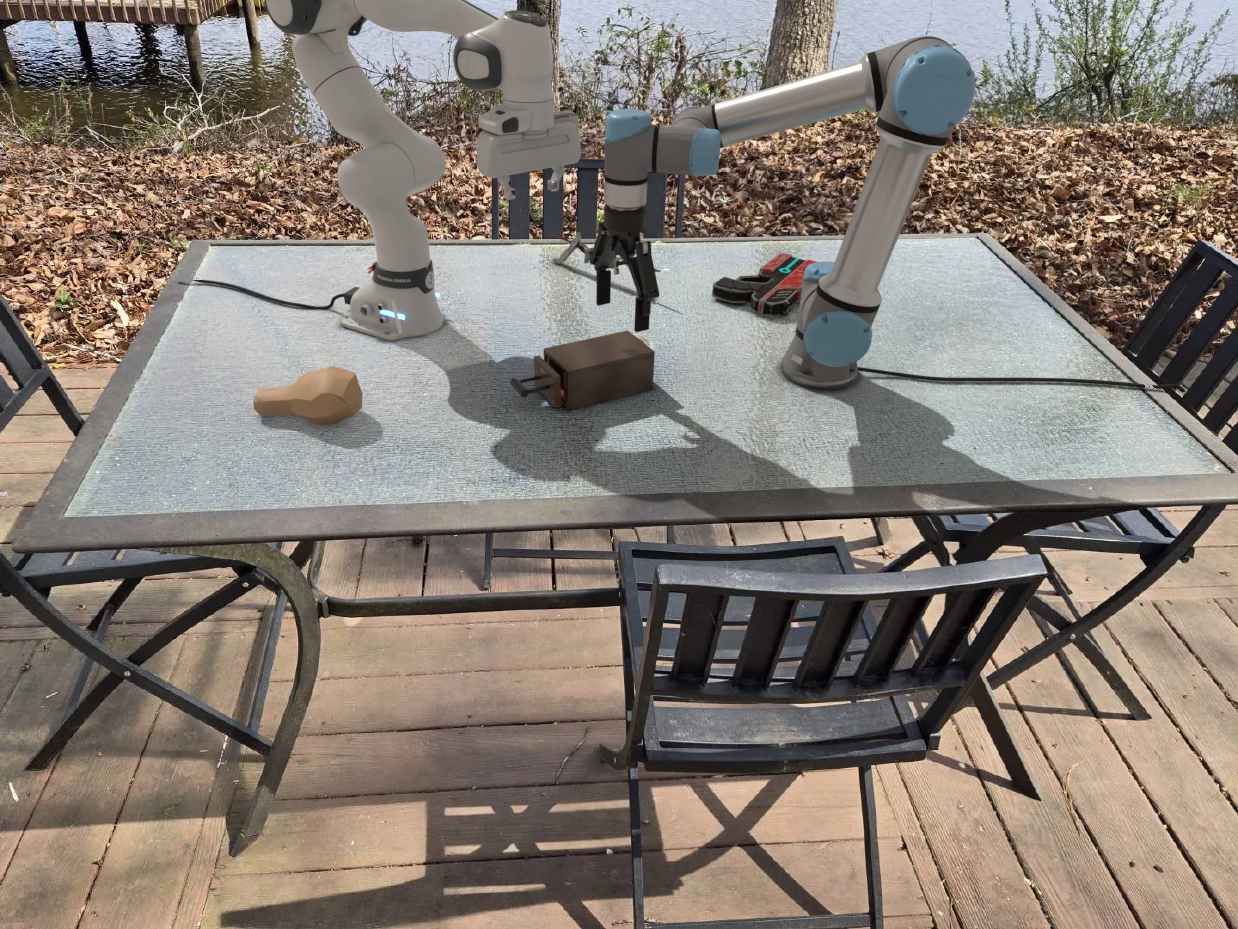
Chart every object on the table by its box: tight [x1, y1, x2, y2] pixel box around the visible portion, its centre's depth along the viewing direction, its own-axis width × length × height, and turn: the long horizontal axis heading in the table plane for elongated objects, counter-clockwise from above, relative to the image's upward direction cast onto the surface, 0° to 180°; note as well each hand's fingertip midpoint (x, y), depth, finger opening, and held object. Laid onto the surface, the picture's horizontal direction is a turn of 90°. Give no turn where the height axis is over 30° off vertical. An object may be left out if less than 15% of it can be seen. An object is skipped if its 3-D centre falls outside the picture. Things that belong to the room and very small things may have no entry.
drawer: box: [509, 355, 566, 408], centre depth 168 cm, size 24×10×6 cm, turn 119°
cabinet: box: [543, 330, 656, 411], centre depth 171 cm, size 19×11×8 cm, turn 119°
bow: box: [546, 230, 662, 294], centre depth 217 cm, size 39×2×10 cm, turn 47°
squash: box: [252, 365, 363, 426], centre depth 159 cm, size 11×20×9 cm, turn 90°
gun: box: [711, 252, 817, 318], centre depth 215 cm, size 4×31×19 cm
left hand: (532, 194), depth 161 cm, fingers open, 8 cm apart
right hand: (621, 316), depth 165 cm, fingers open, 13 cm apart
